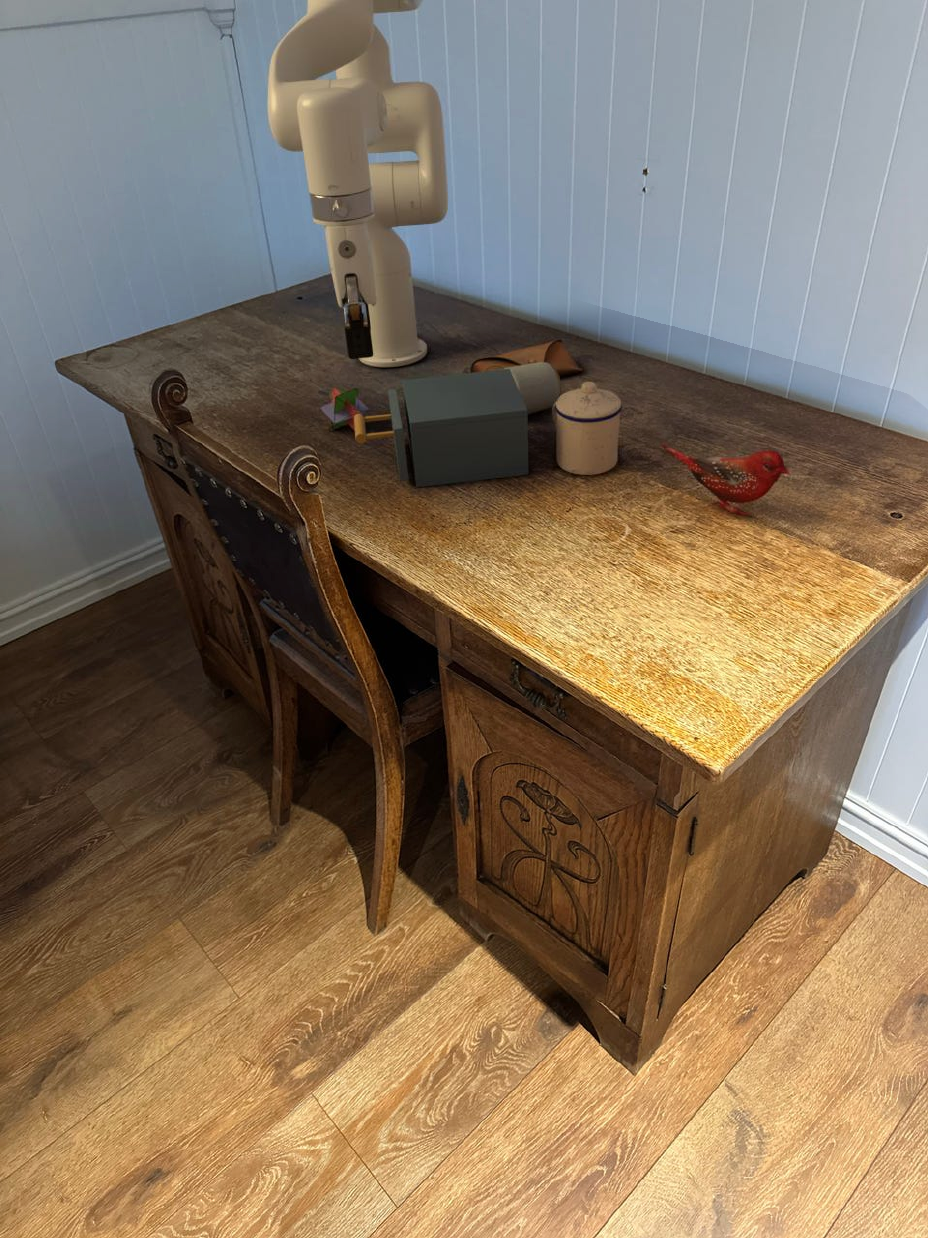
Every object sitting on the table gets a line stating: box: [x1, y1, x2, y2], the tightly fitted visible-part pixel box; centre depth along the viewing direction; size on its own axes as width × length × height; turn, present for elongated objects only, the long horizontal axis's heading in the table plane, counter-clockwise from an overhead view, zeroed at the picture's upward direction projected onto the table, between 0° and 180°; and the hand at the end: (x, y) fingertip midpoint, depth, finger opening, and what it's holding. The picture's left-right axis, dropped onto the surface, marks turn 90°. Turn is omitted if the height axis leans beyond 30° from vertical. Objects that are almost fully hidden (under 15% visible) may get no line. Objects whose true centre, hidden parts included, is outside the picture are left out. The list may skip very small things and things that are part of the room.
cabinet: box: [401, 369, 529, 488], centre depth 128 cm, size 16×14×10 cm
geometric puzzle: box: [318, 384, 371, 433], centre depth 139 cm, size 7×7×8 cm
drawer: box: [354, 388, 411, 482], centre depth 128 cm, size 20×13×8 cm, turn 97°
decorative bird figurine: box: [661, 444, 790, 517], centre depth 114 cm, size 3×18×10 cm, turn 47°
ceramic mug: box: [504, 362, 562, 415], centre depth 141 cm, size 11×8×8 cm
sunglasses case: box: [469, 339, 584, 379], centre depth 152 cm, size 18×7×7 cm
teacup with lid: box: [551, 381, 623, 476], centre depth 126 cm, size 12×9×12 cm
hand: (360, 344), depth 120 cm, fingers open, 9 cm apart
